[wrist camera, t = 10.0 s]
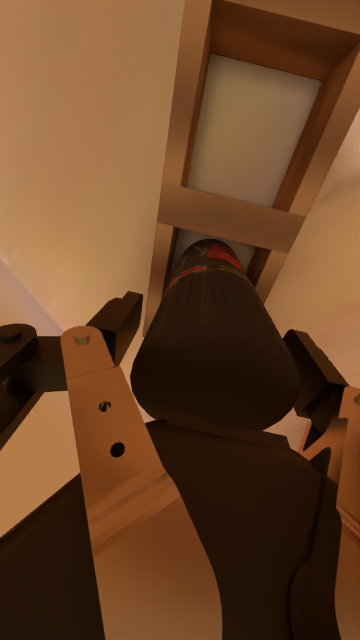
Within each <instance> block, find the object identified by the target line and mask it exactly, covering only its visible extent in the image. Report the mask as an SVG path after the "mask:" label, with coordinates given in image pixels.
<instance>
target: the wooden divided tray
mask: <svg viewBox="0 0 360 640" xmlns="http://www.w3.org/2000/svg"><path fill="white" fill-rule="evenodd" d="M210 53H213V54H217V55H221V56H225V57H230V58H234V59H238V60H242V61H246V62H250V63H254V64H258V65H262V66H266V67H270V68H274V69H278V70H282V71H286V72H290V73H294V74H298V75H302V76H306V77H310V78H314V79H318V80H322V81H323V82H322V84H321V87H320V89H319V92H318V94H317V97H316V99H315V102H314V104H313V107H312V109H311V112H310V114H309V117H308V120H307V122H306V125H305V127H304V130H303V132H302V135H301V137H300V140H299V142H298V145H297V147H296V150H295V152H294V155H293V157H292V160H291V162H290V165H289V167H288V170H287V172H286V175H285V178H284V180H283V183H282V185H281V188H280V190H279V193H278V195H277V198H276V200H275V203H274V205H273V208H268V207H264V206H260V205H256V204H252V203H247V202H243V201H239V200H235V199H231V198H227V197H223V196H219V195H214V194H210V193H206V192H202V191H198V190H194V189H190V188H186V184H187V179H188V173H189V168H190V162H191V157H192V151H193V146H194V140H195V135H196V129H197V124H198V118H199V113H200V107H201V102H202V97H203V91H204V86H205V80H206V75H207V69H208V64H209V58H210ZM359 108H360V0H185V6H184V14H183V22H182V29H181V37H180V45H179V53H178V61H177V69H176V77H175V84H174V92H173V100H172V108H171V116H170V124H169V132H168V139H167V147H166V155H165V163H164V171H163V179H162V187H161V194H160V202H159V210H158V218H157V226H156V234H155V242H154V249H153V257H152V265H151V273H150V281H149V289H148V296H147V304H146V312H145V320H144V328H143V336H142V337H145V336H146V333H147V331H148V329H149V327H150V325H151V322H152V320H153V318H154V316H155V314H156V312H157V309H158V307H159V305H160V303H161V301H162V298H163V296H164V294H165V292H166V290H167V287H168V283H169V277H170V272H171V266H172V261H173V255H174V250H175V244H176V239H177V233H178V228H182V229H186V230H191V231H195V232H199V233H203V234H207V235H211V236H216V237H220V238H224V239H228V240H232V241H236V242H241V243H245V244H249V245H253V246H257V248H256V251H255V253H254V256H253V258H252V261H251V263H250V266H249V268H248V271H247V273H246V274H247V276H248V278H249V280H250V282H251V283H252V285H253V287H254V289H255V291H256V292H257V294H258V296H259V298H260V300H261V301H262V303H263V305H264V303H265V301H266V299H267V297H268V294H269V292H270V290H271V288H272V286H273V284H274V282H275V280H276V278H277V276H278V274H279V272H280V270H281V268H282V266H283V264H284V262H285V260H286V257H287V255H288V253H289V251H290V249H291V247H292V245H293V243H294V241H295V239H296V237H297V235H298V233H299V231H300V229H301V227H302V225H303V223H304V221H305V218H306V216H307V214H308V212H309V210H310V208H311V206H312V204H313V202H314V200H315V198H316V196H317V194H318V192H319V190H320V188H321V186H322V184H323V182H324V179H325V177H326V175H327V173H328V171H329V169H330V167H331V165H332V163H333V161H334V159H335V157H336V155H337V153H338V151H339V149H340V147H341V145H342V142H343V140H344V138H345V136H346V134H347V132H348V130H349V128H350V126H351V124H352V122H353V120H354V118H355V116H356V114H357V112H358V110H359Z"/></svg>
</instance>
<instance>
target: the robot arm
mask: <svg viewBox="0 0 360 640" xmlns="http://www.w3.org/2000/svg"><path fill="white" fill-rule="evenodd" d="M142 302H143V294H140V293H135V292H131V291H128V292H127V293H126V294H125V296H124V297H123V298H122V299H121V298H115V299H112V300H110V301H108V302H107V303H106V304H105V305H104V307H102V309H101V310H100V311H99V312H98V313H97V314H96V315H95V316H94V317H93V318H92V319H91V320H90V321H89V322H88V323H87V324H86V325H85V326H77V327H73V328H70V329H68V330H66V331H65V332H64V333H63V334H62V336H37V333H36V330H35V328H34V327H32V326H30V325H27V324H9V325H4V326H1V327H0V450H1V449H2V448H3V446H4V445H5V444H6V443H7V441H8V440H9V438H10V437H11V436H12V434H13V433H14V432H15V431H16V429H17V428H18V427H19V425H20V424H21V423H22V421H23V420H24V419H25V417H26V416H27V415H28V413H29V412H30V411H31V409H32V408H33V407H34V405H35V404H36V403H37V401H38V400H39V399H40V397H41V396H42V395H43V393H44V392H52V391H68V394H69V401H70V406H71V414H72V420H73V427H74V433H75V440H76V447H77V453H78V459H79V466H80V473H79V474H78V475H76V476H75V477H74V478H73V479H72V480H70V481H69V482H68V483H67V484H65V485H64V486H63V487H62V488H61V489H59V490H58V491H57V492H56V493H54V494H53V495H52V496H51V497H49V498H48V499H47V500H46V501H45V502H43V503H42V504H41V505H40V506H38V507H37V508H36V509H35V510H33V511H32V512H31V513H30V514H29V515H27V516H26V517H25V518H24V519H22V520H21V521H20V522H19V523H18V524H16V525H15V526H14V527H13V528H11V529H10V530H9V531H8V532H7V533H5V534H4V535H3V536H2V537H0V640H360V389H359V388H356V387H352V386H349V384H348V383H347V382H346V381H345V379H344V378H343V377H342V375H341V374H340V373H339V372H338V370H337V369H336V368H335V367H334V366H333V364H332V363H331V361H330V360H328V357H327V356H326V355H325V354H324V352H323V351H322V350H321V349H320V348H318V347H317V346H316V344H315V343H314V342H313V340H312V339H311V338H310V337H309V335H308V334H307V333H305V332H301V331H297V330H293V329H290V330H288V331H287V333H286V334H285V336H284V337H283V341H284V343H285V344H286V346H287V348H288V350H289V352H290V353H291V355H292V357H293V359H294V361H295V363H296V366H297V369H298V372H299V374H300V377H301V384H300V395H299V397H298V399H297V401H296V403H295V404H294V406H293V407H294V409H295V412H296V414H297V416H300V417H304V418H309V419H310V420H311V422H310V423H309V424H308V425H307V427H306V429H305V432H304V435H303V437H302V440H301V443H300V446H299V448H298V451H297V452H296V451H294V450H292V449H291V448H290V446H289V443H288V440H287V437H286V436H283V435H278V434H274V433H269V432H265V431H261V430H245V431H227V430H225V429H223V428H221V427H219V426H217V425H215V424H213V423H211V422H209V421H207V420H204V419H202V418H200V417H198V416H194V415H190V414H185V413H181V412H177V411H172V410H169V412H168V415H167V419H160V420H154V421H151V422H147V423H144V421H143V418H142V416H141V414H140V411H139V409H138V407H137V404H136V402H135V399H134V397H133V395H132V392H131V390H130V388H129V385H128V383H127V381H126V378H125V376H124V373H123V371H122V369H121V367H120V366H119V365H120V363H121V361H122V359H123V357H124V355H125V353H126V351H127V349H128V347H129V345H130V344H131V342H132V340H133V338H134V336H135V334H136V332H137V330H138V328H139V325H140V320H141V311H142Z"/></svg>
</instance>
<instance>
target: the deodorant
mask: <svg viewBox="0 0 360 640" xmlns="http://www.w3.org/2000/svg"><path fill="white" fill-rule="evenodd" d="M130 380H131V387H132V392H133V394H134V396H135V398H136V400H137V401H138V403H139V405H140V406H141V407H142V408H143V409H144V410H145V411H146V412H147V413H148V414H149V415H150V416H151V417H152V418H154V419H155V420H160V419H167V415H168V412H169V410H172V411H177V412H181V413H185V414H190V415H194V416H198V417H200V418H202V419H204V420H207V421H209V422H211V423H213V424H215V425H217V426H219V427H221V428H223V429H225V430H227V431H245V430H261V431H262V430H265V429H267V428H269V427H270V426H272V425H274V424H276V423H277V422H279V421H281V420H282V419H283V418H284V417H285V416H286V415H287V414H288V413H289V412H290V411H291V410H292V408H293V406H294V404H295V403H296V401H297V399H298V397H299V395H300V384H301V377H300V374H299V372H298V369H297V366H296V363H295V361H294V359H293V357H292V355H291V353H290V352H289V350H288V348H287V346H286V344H285V343H284V341H283V339H282V337H281V335H280V334H279V332H278V330H277V328H276V327H275V325H274V323H273V321H272V319H271V318H270V316H269V314H268V312H267V310H266V309H265V307H264V305H263V303H262V301H261V300H260V298H259V296H258V294H257V292H256V291H255V289H254V287H253V285H252V283H251V282H250V280H249V278H248V276H247V274H246V273H245V271H244V269H243V267H242V265H241V264H240V262H239V260H238V258H237V256H236V255H235V253H234V252H233V250H232V249H231V248H230V246H228V245H227V244H225V243H224V242H222V241H219V240H216V239H204V240H200V241H197V242H196V243H194V244H192V245H191V246H190V247H188V248H187V249H186V250H185V252H184V254H183V255H182V257H181V259H180V261H179V263H178V266H177V268H176V270H175V272H174V274H173V276H172V279H171V281H170V283H169V285H168V287H167V290H166V292H165V294H164V296H163V298H162V301H161V303H160V305H159V307H158V309H157V312H156V314H155V316H154V318H153V320H152V322H151V325H150V327H149V329H148V331H147V333H146V336H145V338H144V340H143V342H142V344H141V347H140V349H139V351H138V353H137V355H136V358H135V360H134V362H133V366H132V370H131V375H130Z"/></svg>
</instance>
